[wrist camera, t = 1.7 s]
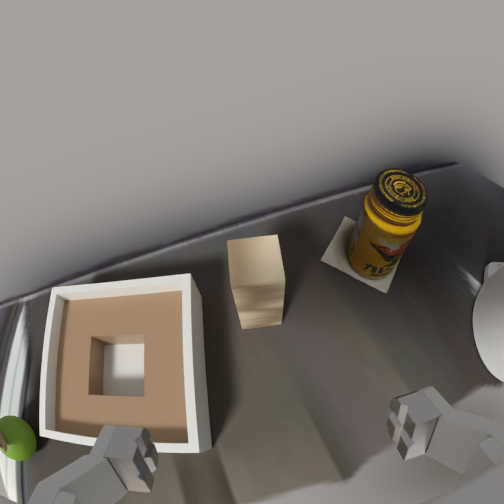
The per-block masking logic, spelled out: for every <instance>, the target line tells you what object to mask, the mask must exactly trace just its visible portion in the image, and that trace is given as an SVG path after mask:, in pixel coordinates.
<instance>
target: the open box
mask: <svg viewBox="0 0 504 504" xmlns="http://www.w3.org/2000/svg"><path fill="white" fill-rule="evenodd" d="M105 425H115V426H128V427H141V428H147V429H148V431H149V433H150V435H151V437H150V440H149V441H151V442H152V443H153V444H155V447H156V449H157V452H167V453H200V452H204V451H207V450H210V449H212V442H211V431H210V420H209V408H208V395H207V382H206V367H205V350H204V331H203V308H202V296H201V294H200V292H199V290H198V288H197V286H196V284H195V282H194V280H193V278H192V275H191V273H189V274H180V275H171V276H162V277H152V278H143V279H134V280H124V281H115V282H105V283H95V284H85V285H75V286H65V287H54V288H52V292H51V298H50V303H49V309H48V315H47V322H46V329H45V337H44V345H43V355H42V366H41V380H40V406H39V429H40V436H42V437H47V438H51V439H56V440H61V441H66V442H71V443H77V444H83V445H89V446H94V444H95V442H96V440H97V438H98V436H99V434H100V432H101V430H102V427H103V426H105Z"/></svg>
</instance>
